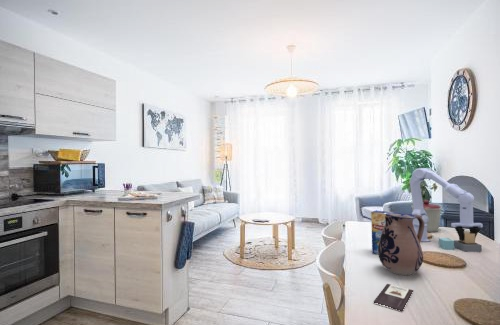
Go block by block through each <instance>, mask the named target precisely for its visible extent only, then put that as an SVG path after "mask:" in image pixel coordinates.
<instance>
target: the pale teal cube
mask: <svg viewBox="0 0 500 325" xmlns="http://www.w3.org/2000/svg"><path fill="white" fill-rule="evenodd" d="M438 247H439V248H441V249H442V250H443V251H444V250H447V251H448V250H449V251H454V250H455V247H454V240H453V239H451V238H449V237H438Z"/></svg>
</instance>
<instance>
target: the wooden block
mask: <svg viewBox="0 0 500 325" xmlns="http://www.w3.org/2000/svg"><path fill="white" fill-rule="evenodd" d="M458 240H459V242H460V243H462V244H467V245H475V243H476V238H475V233H472V232H470V230H464V240H463V241H461V240H460V239H459V238H458Z"/></svg>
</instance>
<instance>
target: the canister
mask: <svg viewBox="0 0 500 325" xmlns="http://www.w3.org/2000/svg"><path fill="white" fill-rule="evenodd" d="M422 201H423V208H424V210H425V211H426V215H427V216H428V218H429V221H428V222H427V233H434V232H437V231H439V229H440V221H441V212H442V209H443V207H442V206H440V205H439V204H435V203H430V201H429V200H428V199H424V200H422ZM410 207H411V208H412V209H411V210H412V211H413V210H414V208H413V204H412V205H410Z"/></svg>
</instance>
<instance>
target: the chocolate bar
mask: <svg viewBox="0 0 500 325" xmlns="http://www.w3.org/2000/svg"><path fill="white" fill-rule="evenodd" d="M412 292H413V293H414V289H410V288H406V287H402V286H397V285H395V284H390V283H386V284H385V286H384V287H383V289H381V291H380V293H379V294H378V295H377V296H376V298H375V299H374V300H373V302H374V303H378V304H381V305H385V306H388V307H391V308H393V309H397V310H400V311H403V312H404V310H405V308H406V307H405V305H406V303H407V302H408V303H409V301H408V300H410V299H409V298H411V297H410V296H412V295H413V293H412ZM411 294H412V295H411ZM408 303H407V304H408ZM406 306H407V305H406ZM404 307H405V308H404ZM393 309H392V310H393ZM403 309H404V310H403ZM400 311H399V312H400Z"/></svg>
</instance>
